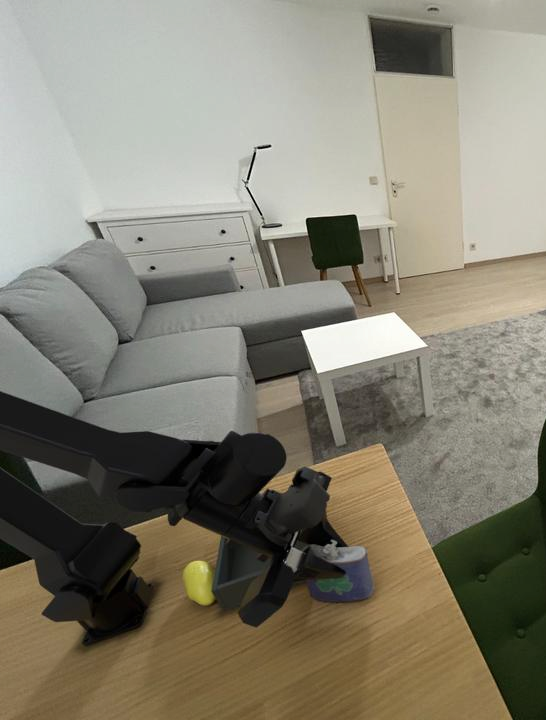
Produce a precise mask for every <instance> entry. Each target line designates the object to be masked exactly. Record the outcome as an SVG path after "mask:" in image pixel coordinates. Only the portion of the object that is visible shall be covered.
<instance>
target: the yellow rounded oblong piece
mask: <svg viewBox="0 0 546 720" xmlns="http://www.w3.org/2000/svg"><path fill="white" fill-rule="evenodd" d="M214 573H215V568H213V567H212V565H211V564H210V563H208V562H207V561H205V560H194V561H191V562H190V563H188V564H187V565H186V567H184V569H183V572H182V581H183V584H184V587H185V591H186V595H187V597H188V598H189V599H190V600H191V601H193V602H196V603H197V604H199V605H201V606H204V607H205V606H209V605H212V604H213V603H214V602H215V601H217V600H216V598H215V597H214V595H213V593H212V592H211V590H212V585H213V579H214Z"/></svg>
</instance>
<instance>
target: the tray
mask: <svg viewBox="0 0 546 720" xmlns="http://www.w3.org/2000/svg"><path fill="white" fill-rule="evenodd" d="M227 541H228V539H227V538H225V537H223V536H221V535H220V540H219V545H218V551H217V556H216V561H215V562H216V563H215V568H214V570H215V573H214V579H213V585H212V590H211V592H212V593H213V595H214V597H215V598H216V600H215V601H216V602H217V603H218V605H219V608H221V610H222V612H227V611H230V610H232V609H235V608H237V607H240V606H241V604H242V601H243V599H244V597H245V595H246V593H247V591H248V589H249V586H250V584H251V582H252V581H253V580H255V579H256V578H257V577H258V576H259V575H260V574H261V573H262V572H264V571H265V570H266V569H267V568H268V567H269V564H270V562H271V560H272V558H269V559H268V560H266V561H265V562H261V561H259V560H257V558H258V555H259V552H256V551H254V550H252V549H250V548H247V547H245V546H243V545H241V544H239V543H238V544H237V545H236V546H235V547H234V548H233V549H232V548H230V547H227V546H225V544H226V542H227ZM307 545H309V544H306V543H303V542H300V541H297V542H296V544H295V547H294V548H296V549H298V550H301V549H302V548H303V547H305V546H307ZM286 547H287V545H286V546H285V548H284V549H286ZM305 582H306V581H300V582H294V583H293V584H292V586H291V587H295V586H296V585H299V584H302V583H305Z"/></svg>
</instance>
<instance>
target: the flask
mask: <svg viewBox="0 0 546 720" xmlns="http://www.w3.org/2000/svg"><path fill="white" fill-rule="evenodd" d="M331 542H333V543H332V544H331V545H329V544H327V545H326V546H325V547H323V546H319V545H316V544H309V545H307V546H305V547H303V548H302V549H301V550H300V551H302V552H303V551H304V550H305V549H306V548H308V547H309V546H311V548H312V551H313V553H314V555H315V556H317V557H319V558H321V559H323V560H325V561H327V562H330V563H332V564H334V565H336V566H338V567H340V568H341V569H343V570H344V571H346V574H345V575H344V576H343V577H342V578H334V579H318V580H306V581H305V582H306V586H307V589H308V592H309V595H310V599H312V600H313V601H315V602H317V603H323V604H331V605H333V604H335V605H337V604H351V603H361V602H364V601H367V600H369V599H372V597H373V596H374V592H375V585H374V581H373V575H372V571H371V568H370V562H369V552H368V551H367V548H366V547H365V546H363V545H353V546H352V545H351V546H348V547H336V546H335V545H336V544H337V542H336V541H334V540H331Z"/></svg>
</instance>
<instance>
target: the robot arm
mask: <svg viewBox="0 0 546 720" xmlns="http://www.w3.org/2000/svg"><path fill="white" fill-rule="evenodd" d="M0 451H2V452H6V453H8V454H11V455H14V456H18V457H21V458H24V459H26V460H30V461H33V462H37V463H39V464H42V465H45V466H49V467H51V468H55V469H58V470H61V471H64V472H67V473H72V474H74V475H76V476H79V477H81V478H83V479H86V480H87V482H88V483H89V485H90V486H91V487H92V489H93V490H94V492H95V493H96V495H97V496H99V497H100V498H102V499H105V500H107V501H109V502H112V503H114V504H117V505H119V506H120V507H122V508H124V509H125V510H127V511H131V512H137V513H151V512H153V510H159V509H163V508H164V509H165V511H166V514H167V522H168V525H169V526H171V527H176V526H177V525H178V524H179V523H180V522H181V521H182V519H183V520H185V521H187V522H190V523H192V524H194V525H196V526H199V527H201V528H203V529H205V530H207V531H210V532H212V533H214V534H216V535H219V536H220V537H221V536H223V537H225V538H227V539H228V541H227V542H226V544H225V546H227V547H230V548H232V549H233V548H234V547H235V546H236V545H237V544H238V543H239V544H241V545H243V546H245V547H247V548H250V549H252V550H254V551H256V552H259V555H258V558H257V560H259V561H261V562H265V561H266V560H268V559H269V558H272V560H271V562H270V564H269V567H268V568H267V569H266V570H265V571H264V572H262V573H261V574H260V575H259V576H258V577H257V578H256V579H255V580H253V581H252V582H251V584H250V586H249V589H248V591H247V593H246V595H245V597H244V599H243V601H242V604H241V605H240V606H239V608H238V610H237V615H238V616H239V618H240V620H241V622H242V623H243V624H244V625H247V626H250V627H253V628H255V629H257V628H258V627H260V626H261V625H262V624H263V623H265V622H266V621H267V620H269V618H271V617H272V616H273V615H274V614H276V613H277V612H278V611H279V610H280V609H282V608H283V606H284V605H285V603H286V601H287V599H288V597H289V595H290V592H291V589H292V587H293V586H292V584H293V583H294V582H300V581H305V582H306V580H318V579H334V578H342V577H343V576H344V575H345V574H346V571H344V570H343V569H341V568H340V567H338V566H336V565H334V564H332V563H330V562H327V561H325V560H323V559H321V558H319V557H317V556H315V555H314V553H313V551H312V548H311V546H309V547H308V548H306V549H305V550H304V551H303V552H302V551H300V550H298V549H296V548H294V547H295V544H296V542H297V541H300V542H303V543H306V544H316V545H319V546H323V547H325V546H326V545H327V544H329V545H331V544H332V543H333V542H331V540H334V541H336V542H337V544H336V545H335V546H336V547H349V546H348V544H347V543H346V541H344V539H343V538H342V537H341V535H340V534H339V533H338V532H337V531H336V530H335V528H334V527H333V526H332V525H331V523H330V521H329V520H328V513H327V507H328V502H330V499H331V494H330V493H328V492H327V491H328V489H329V487H330V483H331V481H332V478H333V477H331V476H330V475H328V474H326V473H325V472H323V471H316V470H315V469H312V468H311V467H308V466H306V465H305V466H302V467H300V468H298V469H296V471H295V473H294V475H293V476H292V479H291V482H292V484H289V486H288V488H287V490H285V491H284V492H279V491H278V490H276V489H269V488H266V486H267V485H268V484H269V483H270V482H271V481H272V480H273V479H274V478H275V477H276V476H277V474H279V473H280V472H281V471H282V470H283V469H284V467H285V466H286V463H287V451H286V449H285V447H284V446H283V444H282V443H281V441H279V440H278V439H277V438H276V437H275V436H274V435H271V434H270V433H262V432H255V431H254V432H247V433H244V434H239V433H238V432H236V431H234V430H230V431H229V432H228V433H227V434H226V435H225V436H224V438H223V439H222V440H221V441H214V440H196V439H180V438H178V437H174V436H170V435H166V434H161V433H158V432H154V431H148V430H144V431H126V432H125V431H124V432H119V431H115V430H112V429H108V428H105V427H102V426H101V425H98V424H94V423H92V422H88V421H86V420H83V419H80V418H77V417H74V416H72V415H68V414H66V413H64V412H61V411H58V410H55V409H52V408H50V407H46V406H43V405H41V404H38V403H36V402H32V401H29V400H27V399H25V398H21V397H20V396H19V397H18V396H16V395H13V394H10V393H7V392H4V391H3V390H0ZM264 488H266V489H265V490H264V491H263V492H262V493H261V491H262V490H263V489H264ZM137 538H138V536H137V535H136V534H133V533H131V532H129V531H128V530H126V529H125V528H123V527H122V526H121V525H120V524H119V523H118V522H115V521H108V522H106V523H104V524H103V523H102V524H100V523H83V522H81V521H78V520H77V519H75V517H73V516H71V515H70V514H69V513H67V512H66V511H64V510H63V509H62V508H60V507H58V506H57V505H56V504H54V503H52V502H51V501H50V500H49V499H47V498H45V497H44V496H43V495H41V494H40V493H38V492H37V491H36V490H34V489H33V488H31V487H30V486H28V485H27V484H26V483H24V482H23V481H21V480H19V479H18V478H17V477H15V476H14V475H12V474H11V473H10V472H8V471H6V470H5V469H3V468H2V467H1V466H0V540H2V541H3V542H5V543H6V544H8V545H9V546H12V547H13V548H14V549H16V550H18V551H20V552H22V553H23V554H25V555H27V556H28V557H30V558H31V559H32V560H33V561H34V566H35V570H36V574H37V575H36V576H37V579H38V584H39V586H40V587H42V588H43V589H44V590H46V591H47V592H48V593H49V594H51V595H52V596H54V597H53V598H52V599H51V601H50V602H49V603H48V604H47V606H46V607H44V609H43V611H41V615H42V616H43V617H45V618H47V619H48V620H50V621H52V622H54V623H64V622H65V623H67V622H77V623H78V624H79V625H80V626H81V627H82V628H83V629H84V631H85V634H84V636H83V639H82V641H81V644H82V646H84V647H87V646H88V647H89V646H90V645H93V644H96V643H98V642H101V641H104V640H107V639H110V638H112V637H114V636H119V635H121V634H125V633H126V632H129V631H132V630H134V629H138V628H140V627H141V626H142V624H143V622H144V619H145V616H146V613H147V610H148V609H149V606H150V603H151V601H152V597H153V590H154V584H153V583H151V582H150V583H147V582H146V581H145V579H144V578H143V577H142V576H141V575H140V576H137V575H136V573H135V572H134V570H133V569H132V568H133V567H134V565H135V564H136V563H137V562H138V561H139V560H140V555H141V548H142V544H141V542H140V541H139V540H138V539H137ZM286 545H287V547H286V549H284V548H285V546H286Z"/></svg>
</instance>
